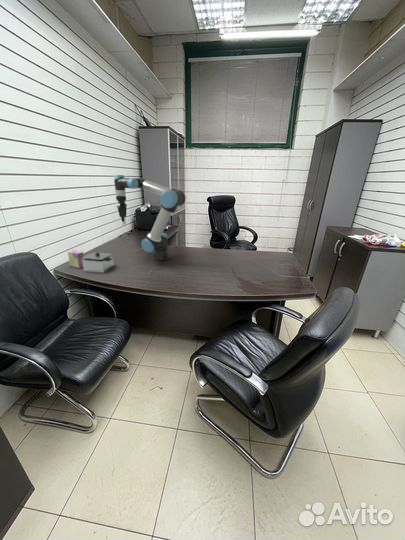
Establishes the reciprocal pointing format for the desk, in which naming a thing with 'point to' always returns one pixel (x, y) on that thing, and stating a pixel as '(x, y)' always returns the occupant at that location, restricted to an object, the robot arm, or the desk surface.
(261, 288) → the desk surface
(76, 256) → the box
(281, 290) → the desk surface
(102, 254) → the lid
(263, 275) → the desk surface
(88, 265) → the grey boxy piece
